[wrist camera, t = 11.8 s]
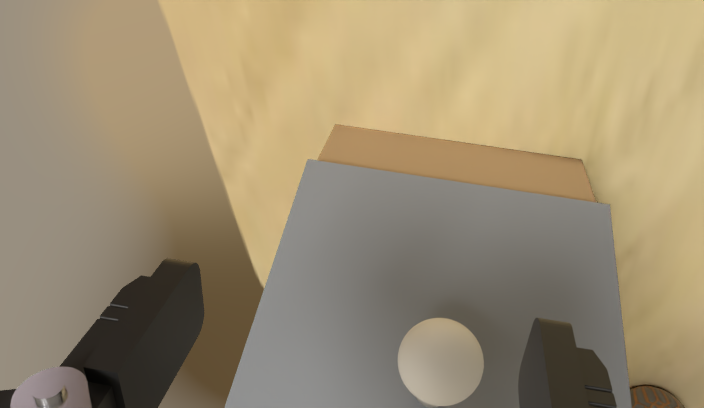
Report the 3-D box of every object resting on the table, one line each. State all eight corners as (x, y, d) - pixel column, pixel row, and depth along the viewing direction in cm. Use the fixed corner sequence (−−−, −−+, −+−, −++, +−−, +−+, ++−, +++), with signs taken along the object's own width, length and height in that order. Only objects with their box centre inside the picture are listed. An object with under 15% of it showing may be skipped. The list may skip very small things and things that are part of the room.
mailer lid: (604, 213, 39) (646, 140, 34) (632, 501, 28) (702, 460, 23) (308, 168, 41) (302, 92, 36) (226, 417, 30) (200, 362, 25)
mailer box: (581, 159, 46) (599, 212, 39) (533, 309, 54) (541, 374, 48) (335, 124, 48) (312, 168, 42) (326, 273, 57) (306, 330, 50)
